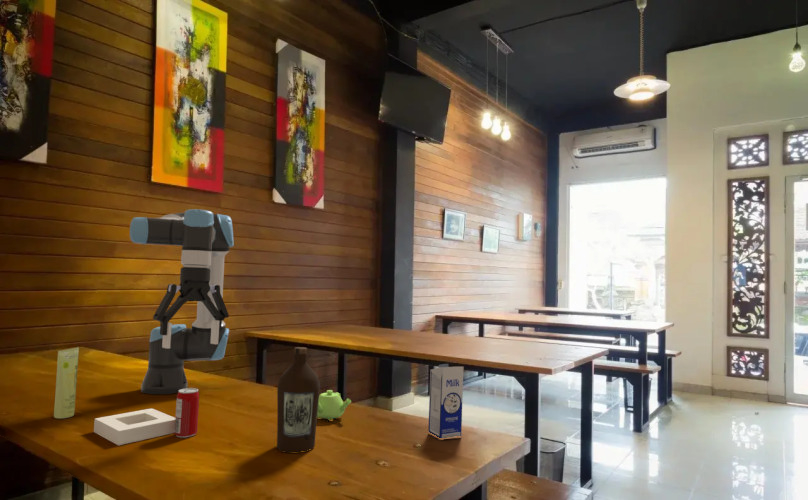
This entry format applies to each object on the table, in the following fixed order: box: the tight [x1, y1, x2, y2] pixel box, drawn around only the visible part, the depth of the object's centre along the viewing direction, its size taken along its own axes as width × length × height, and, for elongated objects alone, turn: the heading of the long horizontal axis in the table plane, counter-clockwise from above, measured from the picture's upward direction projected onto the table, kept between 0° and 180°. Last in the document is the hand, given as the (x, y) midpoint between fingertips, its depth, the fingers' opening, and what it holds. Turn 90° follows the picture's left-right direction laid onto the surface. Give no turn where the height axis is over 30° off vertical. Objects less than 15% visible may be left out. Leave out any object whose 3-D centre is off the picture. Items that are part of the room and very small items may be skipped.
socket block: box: [93, 407, 176, 446], centre depth 135 cm, size 15×15×4 cm
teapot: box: [317, 389, 352, 421], centre depth 155 cm, size 11×12×8 cm
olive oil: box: [276, 346, 321, 453], centre depth 128 cm, size 11×11×25 cm
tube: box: [53, 346, 80, 419], centre depth 146 cm, size 6×5×20 cm
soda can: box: [174, 387, 200, 439], centre depth 134 cm, size 6×6×12 cm
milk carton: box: [427, 363, 465, 438], centre depth 142 cm, size 7×7×20 cm
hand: (191, 345), depth 135 cm, fingers open, 13 cm apart
